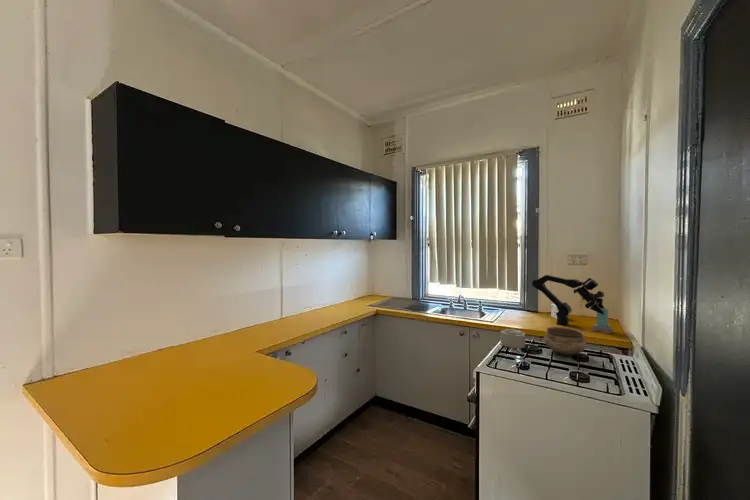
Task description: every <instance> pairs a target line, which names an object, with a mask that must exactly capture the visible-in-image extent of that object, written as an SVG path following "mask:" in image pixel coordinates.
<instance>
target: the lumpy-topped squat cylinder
mask: <svg viewBox="0 0 750 500" xmlns="http://www.w3.org/2000/svg"><path fill="white" fill-rule="evenodd" d="M499 335H500V337H499V338H500V339H499V340H500V342H501V343H502V344H503V345H502V344H501V345H502V346H504V347H507V348H512V349H513V348H514V349H519V350H521V349H520V348H523V349H525V347H526V332H523V331H522V330H520V329H519V330H517V328H511V329H510V328H506V329H504V330H503V329H502V330H501V331H500V334H499Z"/></svg>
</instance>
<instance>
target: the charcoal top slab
mask: <svg viewBox="0 0 750 500" xmlns="http://www.w3.org/2000/svg"><path fill="white" fill-rule="evenodd" d="M592 326H593V327H592V328H593V329H596V330H602V331H609V330H611V329H612V325H611V324H608V326H606V327H604V326H598V325H597V322H596V323H594V324H593V325H592Z"/></svg>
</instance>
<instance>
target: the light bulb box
mask: <svg viewBox="0 0 750 500" xmlns="http://www.w3.org/2000/svg"><path fill="white" fill-rule="evenodd" d="M550 312H551V313H550V315H551V316H550V317H551V318H554V319H556V320H557V315H556V313H557V312H559V310H558V309H557V306H556V305H555V304H554V303H551V304H550Z"/></svg>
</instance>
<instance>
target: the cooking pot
mask: <svg viewBox="0 0 750 500" xmlns="http://www.w3.org/2000/svg"><path fill="white" fill-rule="evenodd" d="M545 330H546V332H545V334H544V338H543V339H544V342H545V345H546V346H547V347H548V348H549V349H550V350H552V351H553V352H555V353H556V354H558V355H560V356H565V357H571V356H575V355H578V354H581V353H582V352H583V351H584V350H585V349H586V347H587V341H586V339H585V336H584V335H585V332H584V331H582V330H579V329H576V328H571V327H566V326H565V327H564V326H550V327H549V326H548V327H545Z"/></svg>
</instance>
